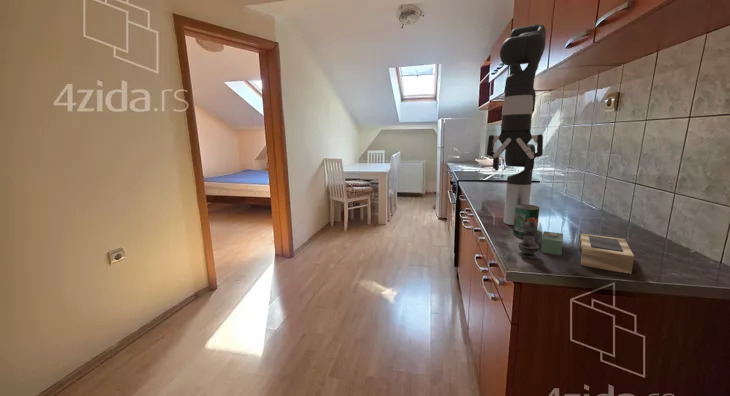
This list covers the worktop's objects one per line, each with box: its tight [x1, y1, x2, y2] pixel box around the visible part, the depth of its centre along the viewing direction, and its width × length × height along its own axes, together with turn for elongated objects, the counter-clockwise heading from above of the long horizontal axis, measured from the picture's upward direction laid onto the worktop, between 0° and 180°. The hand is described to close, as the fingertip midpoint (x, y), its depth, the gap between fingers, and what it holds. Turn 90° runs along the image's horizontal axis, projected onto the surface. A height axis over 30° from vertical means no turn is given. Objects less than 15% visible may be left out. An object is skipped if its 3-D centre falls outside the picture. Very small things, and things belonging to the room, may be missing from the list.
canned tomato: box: [512, 204, 540, 239], centre depth 111 cm, size 8×8×11 cm
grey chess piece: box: [517, 219, 540, 260], centre depth 92 cm, size 6×6×12 cm
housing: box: [540, 231, 564, 256], centre depth 97 cm, size 9×6×5 cm, turn 147°
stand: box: [578, 233, 635, 275], centre depth 89 cm, size 16×11×5 cm
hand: (512, 171), depth 87 cm, fingers open, 8 cm apart
